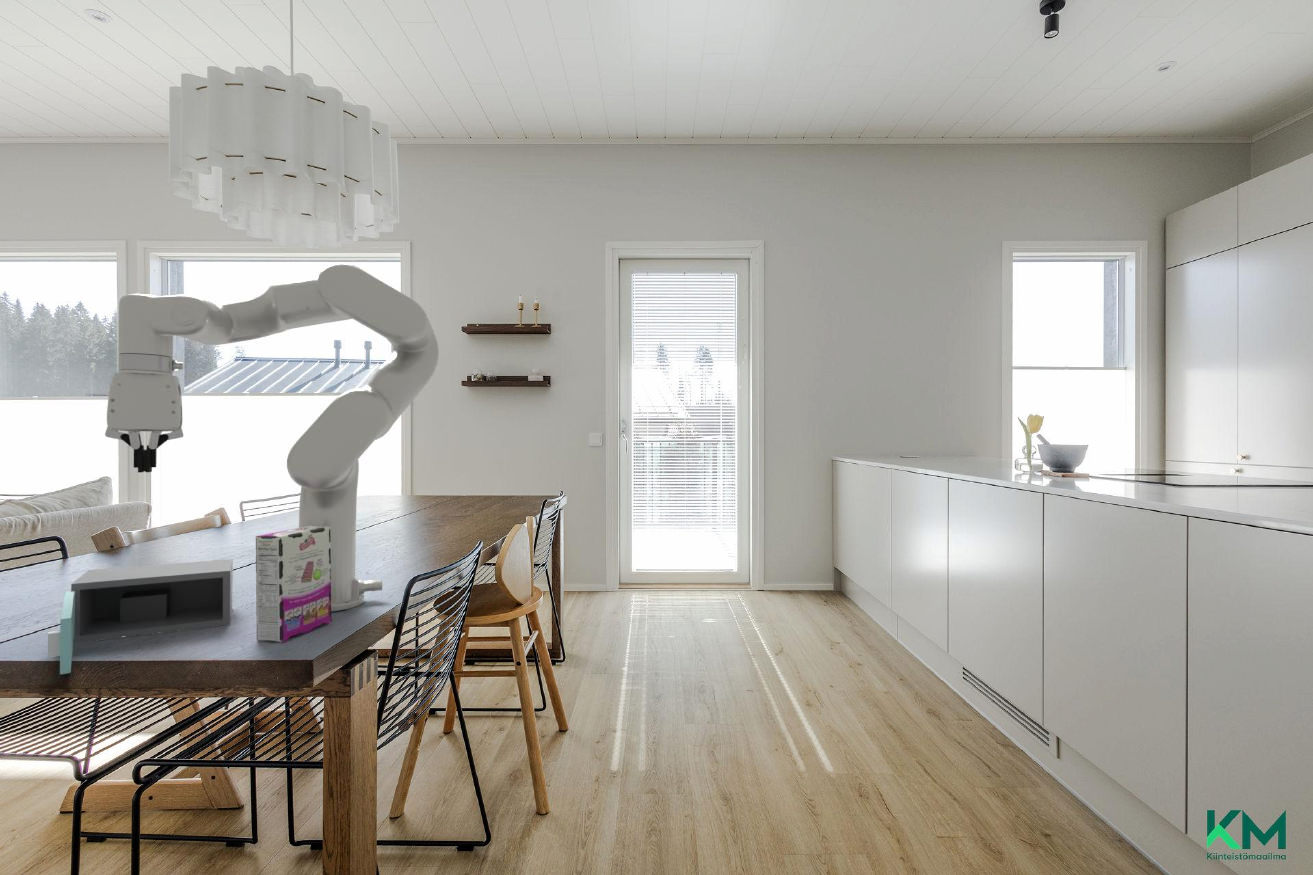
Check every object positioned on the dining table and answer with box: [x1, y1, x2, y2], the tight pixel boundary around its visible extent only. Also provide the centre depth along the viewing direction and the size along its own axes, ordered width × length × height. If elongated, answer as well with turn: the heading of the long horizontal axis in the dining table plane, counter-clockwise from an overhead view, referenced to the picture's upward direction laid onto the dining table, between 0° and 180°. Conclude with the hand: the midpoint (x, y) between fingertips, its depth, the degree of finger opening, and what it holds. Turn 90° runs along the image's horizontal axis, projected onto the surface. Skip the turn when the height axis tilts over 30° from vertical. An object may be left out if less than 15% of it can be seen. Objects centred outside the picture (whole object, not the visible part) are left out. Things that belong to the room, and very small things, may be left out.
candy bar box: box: [255, 526, 332, 644], centre depth 104 cm, size 11×5×16 cm, turn 168°
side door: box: [47, 590, 75, 675], centre depth 89 cm, size 19×2×7 cm, turn 41°
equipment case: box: [70, 558, 234, 645], centre depth 108 cm, size 20×12×9 cm, turn 122°
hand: (145, 471), depth 113 cm, fingers closed
